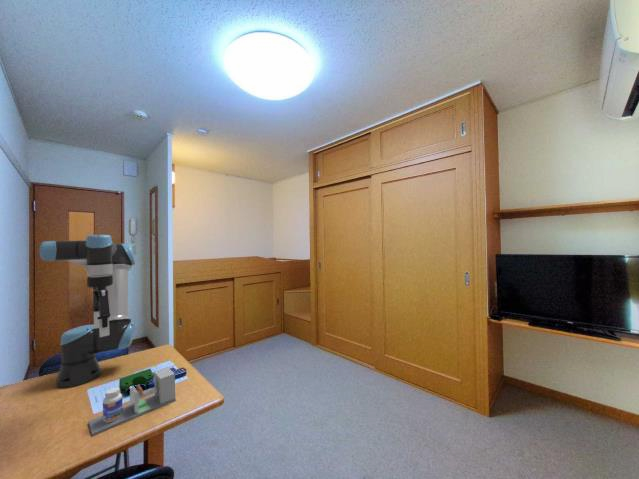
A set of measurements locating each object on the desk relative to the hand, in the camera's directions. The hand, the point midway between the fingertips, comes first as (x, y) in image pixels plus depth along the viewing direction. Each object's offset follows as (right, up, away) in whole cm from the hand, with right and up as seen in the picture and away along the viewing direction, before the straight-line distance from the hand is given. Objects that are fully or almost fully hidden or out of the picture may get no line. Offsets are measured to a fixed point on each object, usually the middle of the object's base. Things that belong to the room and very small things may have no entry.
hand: (101, 331), depth 101 cm
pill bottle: (+10, -28, -7) cm, 31 cm away
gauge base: (+14, -28, -3) cm, 32 cm away
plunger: (+19, -27, +2) cm, 33 cm away
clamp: (+5, -29, +12) cm, 32 cm away
